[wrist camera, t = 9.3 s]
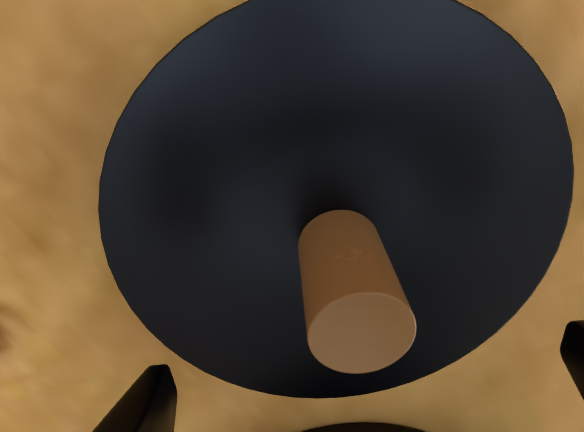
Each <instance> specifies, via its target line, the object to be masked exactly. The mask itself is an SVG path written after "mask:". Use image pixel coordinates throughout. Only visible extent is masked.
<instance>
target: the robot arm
mask: <svg viewBox="0 0 584 432" xmlns="http://www.w3.org/2000/svg"><path fill="white" fill-rule="evenodd" d="M560 353H561V357H562V359H563V361H564V363H565V365H566V367H567V369H568V371H569V373H570V375H571V377H572V379H573V381H574V382H575V384H576V386H577V388H578V390H579V392H580V394H581V396H582V398H583V400H584V320H578V321H571V322H569V323H568V324H567V326H566V329H565V332H564V335H563V339H562V342H561V346H560ZM176 405H177V388H176V385H175V382H174V379H173V376H172V374H171V371H170V368H169V366H168V365H166V364H161V365H152V366H149V367H148V368H147V369H146V370H145V371H144V372H143V373H142V374H141V376H140V377H139V378H138V379H137V380H136V381H135V382H134V384H133V385H132V386H131V387H130V388H129V389H128V391H127V392H126V393H125V394H124V395H123V396H122V398H121V399H120V400H119V401H118V402H117V403H116V405H115V406H114V407H113V408H112V409H111V410H110V411H109V413H108V414H107V415H106V416H105V417H104V418H103V420H102V421H101V422H100V423H99V424H98V425H97V427H96V428H95V429H94V430H93V431H92V432H174V425H175V415H176Z"/></svg>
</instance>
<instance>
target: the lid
mask: <svg viewBox="0 0 584 432" xmlns="http://www.w3.org/2000/svg"><path fill="white" fill-rule="evenodd" d="M573 180H574V165H573V154H572V143H571V139H570V135H569V131H568V127H567V123H566V119H565V115H564V112H563V110H562V108H561V106H560V103H559V101H558V99H557V97H556V95H555V92H554V90H553V88H552V86H551V84H550V83H549V81H548V80H547V78H546V77H545V75H544V74H543V72H542V71H541V69H540V68H539V66H538V65H537V63H536V62H535V60H534V59H533V58H532V57H531V56H530V55H529V54H528V53H527V51H526V50H525V49H524V48H523V47H522V46H521V45H520V44H519V43H518V42H517V41H516V40H515V39H514V38H513V37H512V36H511V35H510V34H509V33H507V32H506V31H505V30H503V29H502V28H501V27H499V26H498V25H497V24H495V23H494V22H493V21H491V20H490V19H488V18H487V17H486V16H484V15H483V14H482V13H480V12H478V11H476V10H474V9H472V8H470V7H468V6H466V5H464V4H462V3H460V2H458V1H456V0H249V1H246V2H244V3H242V4H240V5H238V6H236V7H234V8H232V9H230V10H228V11H226V12H224V13H222V14H220V15H218V16H216V17H214V18H213V19H211V20H210V21H208V22H207V23H205V24H204V25H203V26H201V27H200V28H198V29H197V30H195V31H194V32H192V33H191V34H189V35H188V36H186V37H185V38H184V39H183V40H181V41H180V42H179V43H178V44H177V45H176V46H175V47H174V48H173V49H172V50H171V51H170V52H169V53H167V54H166V55H165V56H164V57H163V58H162V59H161V60H160V61H159V62H158V63H157V64H156V65H155V66H154V67H153V69H152V70H151V71H150V72H149V74H148V75H147V76H146V77H145V79H144V80H143V81H142V83H141V84H140V85H139V86H138V88H137V89H136V90H135V91H134V93H133V95H132V96H131V98H130V100H129V102H128V103H127V105H126V107H125V109H124V110H123V112H122V114H121V116H120V117H119V119H118V121H117V123H116V126H115V129H114V131H113V134H112V137H111V139H110V142H109V145H108V147H107V150H106V153H105V158H104V163H103V168H102V173H101V177H100V185H99V206H98V212H99V221H100V231H101V239H102V243H103V246H104V250H105V254H106V258H107V261H108V265H109V267H110V269H111V272H112V274H113V276H114V279H115V281H116V283H117V286H118V288H119V290H120V291H121V293H122V295H123V296H124V298H125V299H126V301H127V303H128V304H129V306H130V308H131V309H132V311H133V312H134V313H135V314H136V315H137V317H138V318H139V319H140V320H141V322H142V323H143V324H144V325H145V327H146V328H147V329H148V330H149V331H150V332H151V333H152V334H153V335H154V336H155V337H156V338H157V339H159V340H160V341H161V342H162V343H163V344H164V345H165V346H166V347H168V348H169V349H170V350H172V351H173V352H174V353H176V354H177V355H178V356H180V357H181V358H182V359H184V360H185V361H187V362H189V363H190V364H192V365H194V366H195V367H197V368H199V369H200V370H202V371H204V372H206V373H208V374H210V375H213V376H215V377H217V378H219V379H221V380H224V381H226V382H229V383H232V384H235V385H238V386H241V387H244V388H247V389H251V390H255V391H259V392H264V393H268V394H273V395H280V396H288V397H297V398H339V397H348V396H356V395H363V394H369V393H373V392H378V391H382V390H387V389H391V388H394V387H397V386H400V385H403V384H407V383H410V382H413V381H415V380H417V379H420V378H422V377H425V376H427V375H430V374H432V373H434V372H436V371H438V370H440V369H442V368H444V367H446V366H448V365H450V364H452V363H454V362H456V361H457V360H459V359H460V358H462V357H463V356H465V355H467V354H468V353H470V352H471V351H473V350H474V349H476V348H477V347H479V346H480V345H481V344H482V343H484V342H485V341H486V340H487V339H489V338H490V337H491V336H493V335H494V334H495V333H496V332H497V331H498V330H500V329H501V328H502V327H503V326H504V325H505V324H506V323H507V322H508V321H509V320H510V319H511V318H512V317H513V316H514V315H515V314H516V313H517V312H518V310H519V309H520V308H521V307H522V306H523V304H524V303H525V302H526V301H527V300H528V299H529V297H530V296H531V295H532V293H533V292H534V290H535V289H536V287H537V286H538V284H539V283H540V281H541V280H542V278H543V277H544V275H545V274H546V272H547V270H548V268H549V266H550V264H551V262H552V260H553V258H554V256H555V254H556V253H557V251H558V248H559V245H560V242H561V240H562V237H563V234H564V231H565V228H566V226H567V221H568V216H569V212H570V207H571V202H572V195H573Z"/></svg>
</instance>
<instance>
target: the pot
mask: <svg viewBox="0 0 584 432" xmlns="http://www.w3.org/2000/svg"><path fill="white" fill-rule="evenodd" d="M305 432H422V431H419V430H416V429H412V428H407V427H403V426H397V425H389V424H376V423H356V424H342V425H334V426H327V427H322V428H318V429H313V430H309V431H305Z"/></svg>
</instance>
